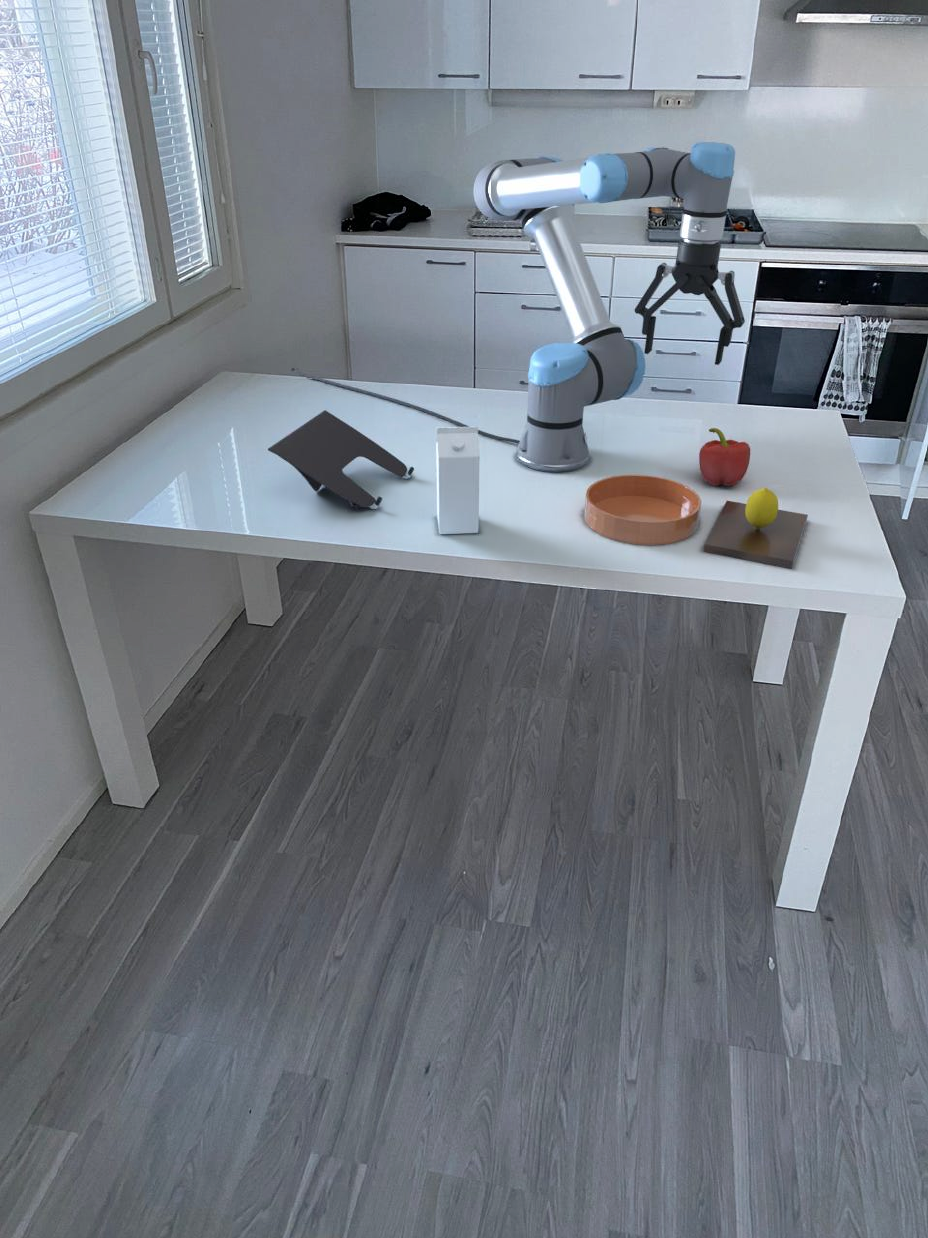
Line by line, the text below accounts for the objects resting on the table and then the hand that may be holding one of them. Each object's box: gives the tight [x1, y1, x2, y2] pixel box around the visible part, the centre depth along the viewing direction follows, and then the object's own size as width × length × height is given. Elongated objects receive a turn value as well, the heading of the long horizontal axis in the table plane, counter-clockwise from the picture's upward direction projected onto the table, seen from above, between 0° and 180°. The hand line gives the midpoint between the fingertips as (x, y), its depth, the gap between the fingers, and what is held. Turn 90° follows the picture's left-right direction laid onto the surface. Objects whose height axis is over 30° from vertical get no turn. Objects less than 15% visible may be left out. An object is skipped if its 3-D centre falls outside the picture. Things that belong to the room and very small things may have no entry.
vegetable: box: [698, 427, 751, 487], centre depth 188 cm, size 11×10×10 cm
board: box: [703, 500, 809, 570], centre depth 169 cm, size 15×20×2 cm
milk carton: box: [435, 426, 481, 535], centre depth 168 cm, size 7×7×19 cm
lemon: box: [745, 487, 779, 529], centre depth 167 cm, size 6×6×8 cm
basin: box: [583, 474, 702, 546], centre depth 174 cm, size 21×21×4 cm
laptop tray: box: [267, 409, 415, 510], centre depth 186 cm, size 23×23×9 cm
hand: (682, 357), depth 179 cm, fingers open, 13 cm apart
